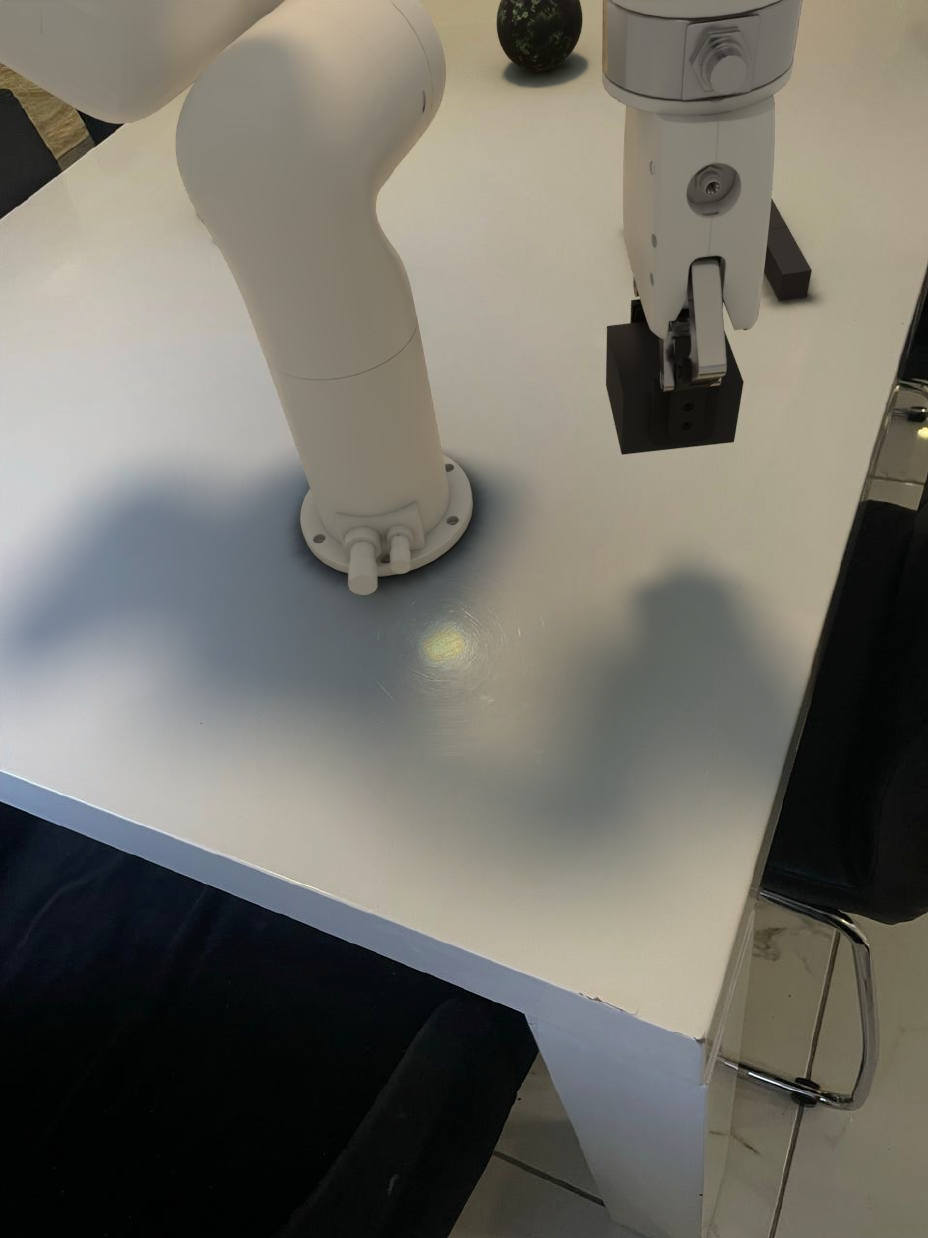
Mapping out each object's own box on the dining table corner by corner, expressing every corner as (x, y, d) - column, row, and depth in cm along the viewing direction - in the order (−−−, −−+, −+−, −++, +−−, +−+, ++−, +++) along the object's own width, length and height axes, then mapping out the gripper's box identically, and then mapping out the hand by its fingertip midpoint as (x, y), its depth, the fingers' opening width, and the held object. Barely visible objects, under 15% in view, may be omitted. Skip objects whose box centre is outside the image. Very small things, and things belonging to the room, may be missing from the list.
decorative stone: (564, 89, 108) (561, -9, 101) (487, 83, 112) (478, -12, 104) (595, 52, 114) (594, -43, 106) (520, 48, 117) (513, -45, 109)
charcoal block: (734, 442, 50) (744, 381, 46) (621, 455, 50) (623, 395, 47) (710, 373, 53) (718, 312, 50) (605, 385, 54) (606, 325, 50)
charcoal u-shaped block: (807, 296, 78) (812, 269, 76) (664, 317, 79) (665, 291, 77) (762, 213, 87) (766, 187, 85) (634, 232, 88) (634, 207, 86)
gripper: (863, 120, 31) (778, 502, 45) (743, -53, 42) (705, 300, 56) (638, 149, 32) (623, 519, 46) (576, -29, 42) (580, 315, 56)
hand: (668, 396), depth 51 cm, fingers closed on charcoal block, 6 cm apart
